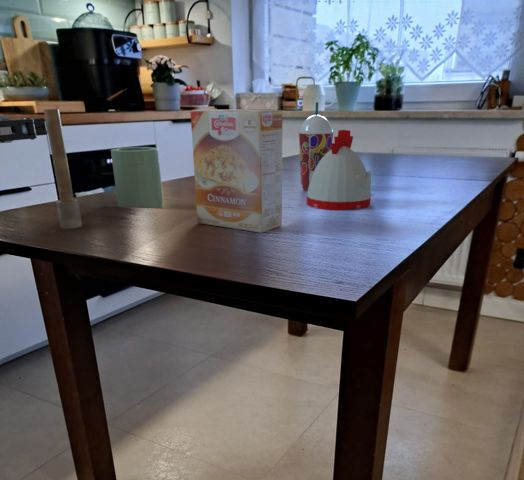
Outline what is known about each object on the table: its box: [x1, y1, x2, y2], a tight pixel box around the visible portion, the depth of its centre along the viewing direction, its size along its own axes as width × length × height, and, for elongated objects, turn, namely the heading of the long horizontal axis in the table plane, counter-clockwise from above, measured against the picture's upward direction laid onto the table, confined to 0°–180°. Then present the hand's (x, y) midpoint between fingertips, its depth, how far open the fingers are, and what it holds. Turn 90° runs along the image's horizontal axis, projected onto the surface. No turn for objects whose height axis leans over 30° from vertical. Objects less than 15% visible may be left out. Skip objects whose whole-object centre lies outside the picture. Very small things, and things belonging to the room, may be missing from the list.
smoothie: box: [298, 102, 334, 192], centre depth 127 cm, size 8×8×20 cm
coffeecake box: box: [189, 109, 283, 234], centre depth 92 cm, size 15×7×20 cm, turn 56°
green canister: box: [110, 146, 164, 210], centre depth 109 cm, size 9×9×12 cm
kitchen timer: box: [306, 129, 372, 211], centre depth 111 cm, size 14×14×15 cm
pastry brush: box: [43, 108, 83, 230], centre depth 85 cm, size 4×4×20 cm
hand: (23, 126), depth 77 cm, fingers open, 8 cm apart
